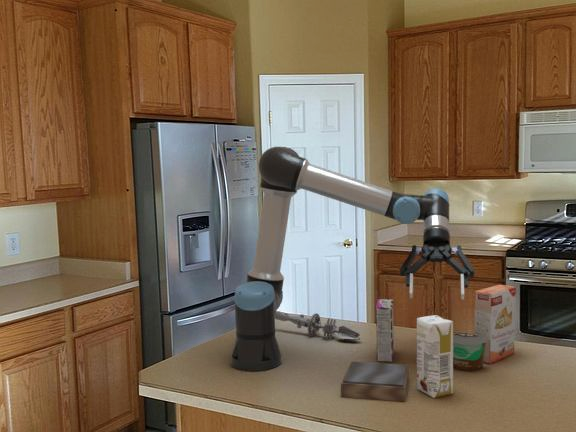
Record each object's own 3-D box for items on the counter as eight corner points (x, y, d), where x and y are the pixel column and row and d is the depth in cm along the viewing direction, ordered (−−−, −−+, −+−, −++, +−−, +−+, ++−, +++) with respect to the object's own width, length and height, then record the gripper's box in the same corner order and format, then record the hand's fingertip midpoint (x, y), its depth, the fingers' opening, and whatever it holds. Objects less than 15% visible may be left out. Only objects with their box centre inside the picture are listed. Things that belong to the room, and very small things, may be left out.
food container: (441, 370, 172) (441, 335, 171) (443, 363, 178) (443, 329, 177) (487, 374, 168) (487, 339, 167) (487, 367, 173) (488, 332, 172)
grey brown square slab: (341, 396, 154) (340, 381, 154) (350, 374, 170) (350, 360, 169) (405, 401, 150) (405, 385, 150) (408, 378, 166) (408, 364, 165)
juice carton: (432, 400, 151) (432, 325, 149) (412, 388, 159) (412, 317, 157) (457, 394, 154) (457, 321, 152) (436, 383, 162) (436, 313, 160)
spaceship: (279, 304, 221) (268, 300, 214) (367, 326, 202) (358, 323, 196) (273, 325, 219) (262, 322, 213) (361, 350, 201) (352, 347, 194)
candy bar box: (378, 350, 191) (377, 298, 189) (394, 350, 190) (393, 299, 188) (375, 361, 180) (375, 307, 179) (393, 362, 179) (392, 307, 178)
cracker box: (491, 365, 175) (492, 293, 173) (472, 360, 180) (473, 290, 178) (516, 354, 184) (516, 286, 182) (497, 349, 189) (498, 283, 187)
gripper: (480, 242, 178) (484, 304, 165) (394, 242, 184) (391, 302, 171) (481, 226, 172) (485, 289, 159) (392, 226, 178) (389, 287, 165)
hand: (436, 296), depth 165 cm, fingers open, 13 cm apart
